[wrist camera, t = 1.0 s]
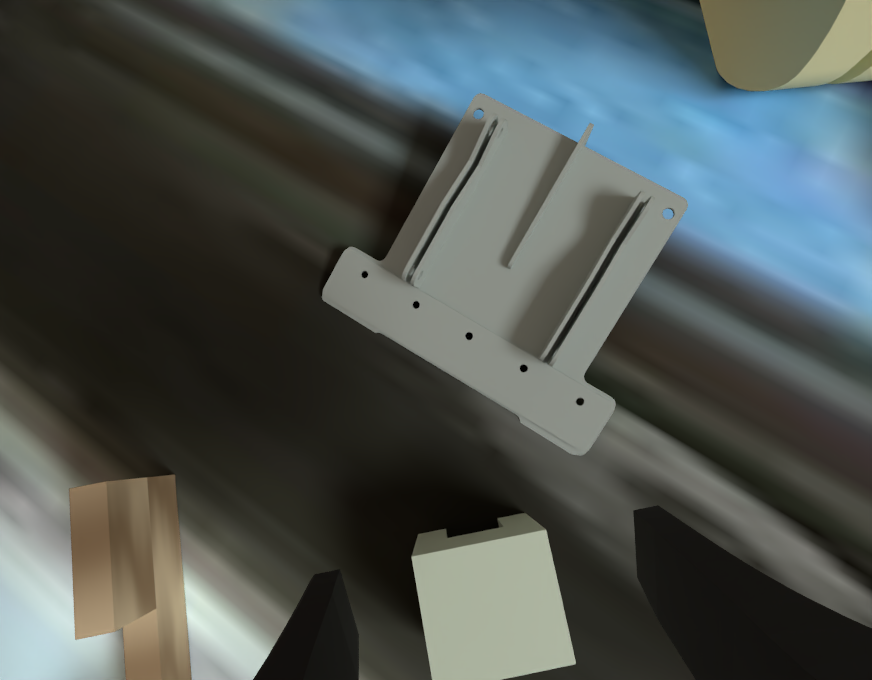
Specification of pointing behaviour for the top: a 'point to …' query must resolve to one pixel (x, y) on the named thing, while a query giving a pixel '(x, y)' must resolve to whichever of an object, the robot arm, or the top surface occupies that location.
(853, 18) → the slatted curved stool
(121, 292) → the top surface
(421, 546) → the slotted block
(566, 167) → the metal bracket
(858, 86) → the top surface
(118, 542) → the notched rail
